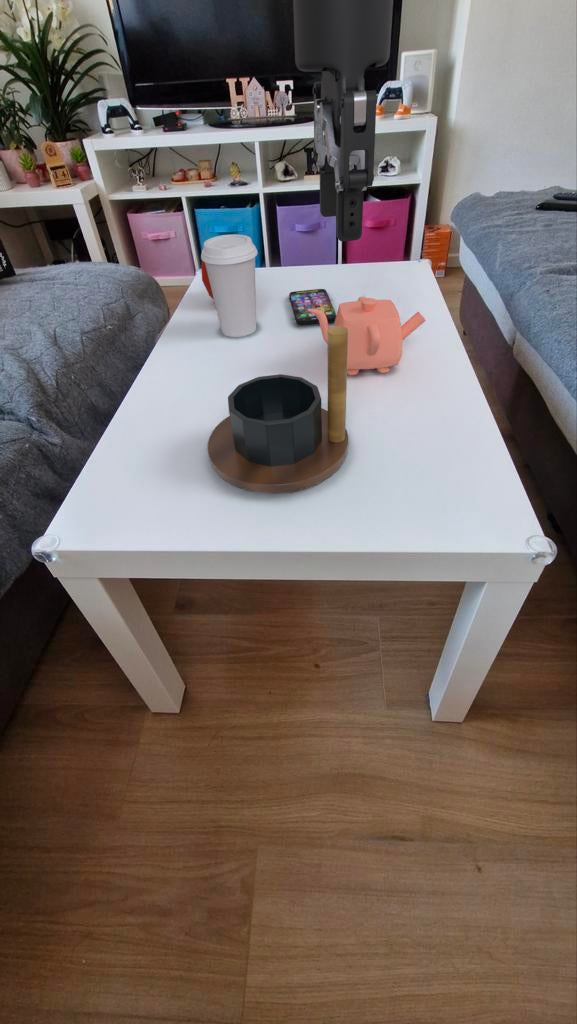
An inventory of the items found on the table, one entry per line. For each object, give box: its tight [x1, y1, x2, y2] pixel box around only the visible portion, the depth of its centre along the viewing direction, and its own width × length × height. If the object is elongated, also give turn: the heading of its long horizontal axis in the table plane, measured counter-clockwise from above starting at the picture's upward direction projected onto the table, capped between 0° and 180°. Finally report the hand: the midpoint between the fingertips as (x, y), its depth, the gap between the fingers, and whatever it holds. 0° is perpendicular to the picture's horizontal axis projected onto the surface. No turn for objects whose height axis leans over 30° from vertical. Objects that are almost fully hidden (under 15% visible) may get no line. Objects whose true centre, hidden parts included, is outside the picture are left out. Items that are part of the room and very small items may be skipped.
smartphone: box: [288, 288, 337, 327], centre depth 96 cm, size 8×1×15 cm
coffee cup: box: [200, 234, 259, 338], centre depth 87 cm, size 10×10×15 cm
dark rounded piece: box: [207, 325, 349, 494], centre depth 59 cm, size 18×18×15 cm
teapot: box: [308, 296, 427, 376], centre depth 76 cm, size 14×12×10 cm
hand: (339, 227), depth 48 cm, fingers open, 8 cm apart
